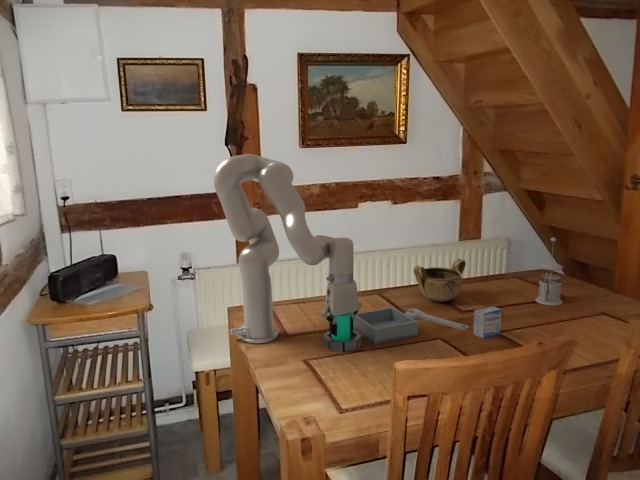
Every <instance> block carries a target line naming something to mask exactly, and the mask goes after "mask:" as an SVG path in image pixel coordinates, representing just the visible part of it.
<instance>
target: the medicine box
mask: <svg viewBox="0 0 640 480" xmlns="http://www.w3.org/2000/svg"><path fill="white" fill-rule="evenodd" d="M473 312H474V313H473V335H474V336H476V337H479V338H480V339H483V340H484V339H487V338H490V337H494V336H497V335H498V336H499V335H500V334H501V329H502V327H501V326H502V309H501V308H499V307H496V306H493V305H491V306H487V307H483V308H479V309H475V310H474V311H473Z"/></svg>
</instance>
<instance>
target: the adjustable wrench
mask: <svg viewBox="0 0 640 480" xmlns="http://www.w3.org/2000/svg"><path fill="white" fill-rule="evenodd" d="M404 314H406V315H407V316H409V317H411V318H413V319H414V320H416V319H417V320H418V319H421V320H425V321H429V322H433V323H437V324H439V325H444V326H447V327H450V328H454V329H457V330H461V331H464V332H465V331H469V325H467V324H463V323H459V322H456V321H452V320H448V319H445V318H440V317H438V316H434V315H430V314H427V313H426V312H423V311H422V310H420V309H417V308H408V309H407V311H405V313H404Z"/></svg>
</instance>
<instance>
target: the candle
mask: <svg viewBox="0 0 640 480" xmlns="http://www.w3.org/2000/svg"><path fill="white" fill-rule="evenodd" d="M332 319H333V315H332ZM335 324H337V336H334V335H333V334H331V339H332V340H339V341H346V340H350V313H348V314H344V315H340V316H336V323H335Z"/></svg>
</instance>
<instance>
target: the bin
mask: <svg viewBox="0 0 640 480" xmlns="http://www.w3.org/2000/svg"><path fill="white" fill-rule="evenodd" d="M353 329H354V330H356V331H358V332H359V333H360V334H362V337H364V338H365V339H367V340H368V341H369V342H371V343H372V344H373V345H380V344H384V343H385V344H386V343H389V342H394V341H398V340H399V341H401V340H403V339H404V340H405V339H409V338H415V337H418V336H419V335H418V333H419V332H418V330H419V322H418V320H416V319H413V318H411V317H409V316H407V315H406V314H405V313H404V312H402V311H400V310H399V309H397V308H396V307H393V306H390V307H384V308H378V309H373V310H367V311H362V312H357V314H356V315H355V319H353Z"/></svg>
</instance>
